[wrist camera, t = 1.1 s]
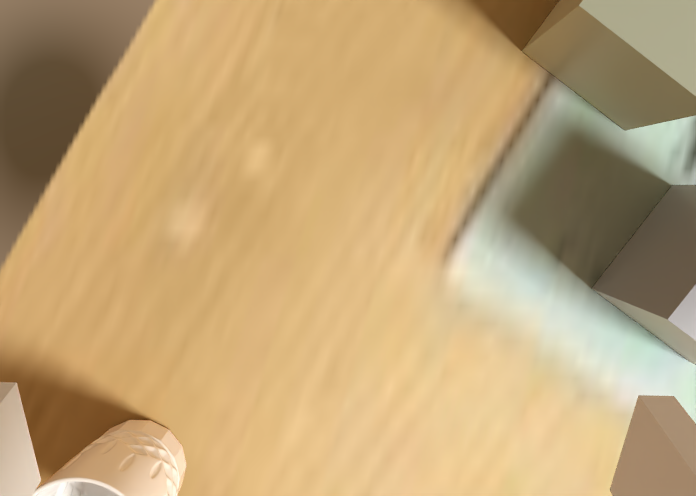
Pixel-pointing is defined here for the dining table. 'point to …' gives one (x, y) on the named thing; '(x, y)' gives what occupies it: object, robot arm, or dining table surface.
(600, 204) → the dining table surface
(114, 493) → the white cup
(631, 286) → the slate cover
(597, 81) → the olive cover
